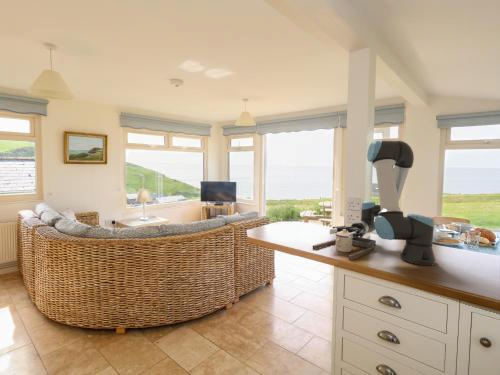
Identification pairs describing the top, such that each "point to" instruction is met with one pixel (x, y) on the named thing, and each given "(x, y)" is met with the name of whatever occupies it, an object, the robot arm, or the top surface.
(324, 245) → the walnut rail lane
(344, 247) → the teacup with lid
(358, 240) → the bin
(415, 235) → the robot arm
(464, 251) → the top surface
